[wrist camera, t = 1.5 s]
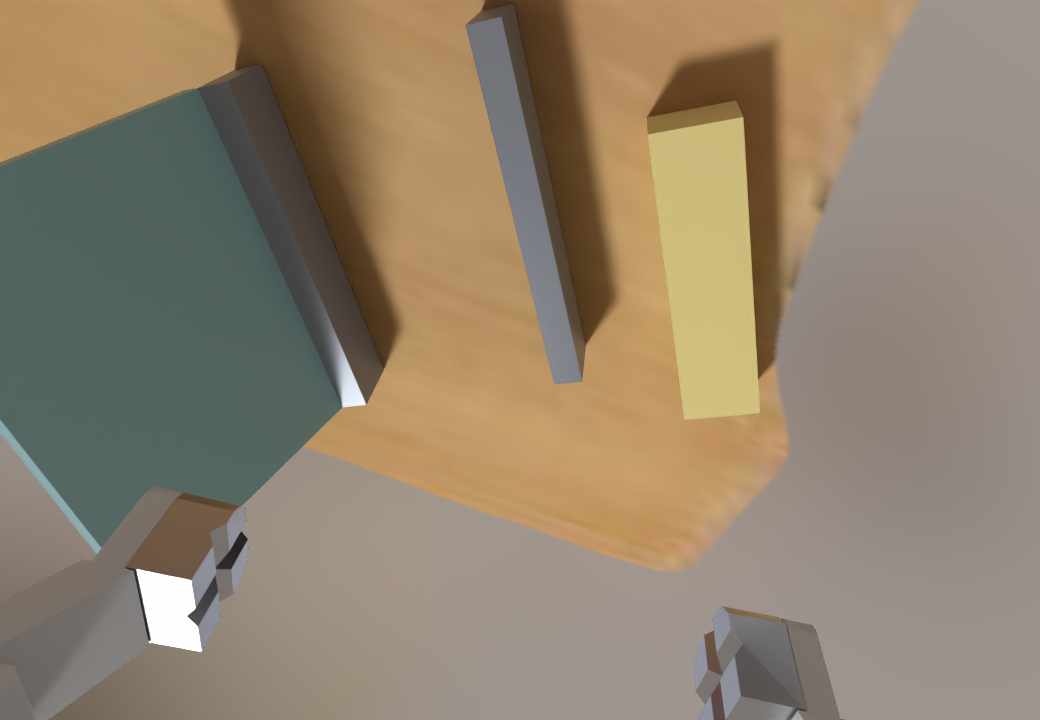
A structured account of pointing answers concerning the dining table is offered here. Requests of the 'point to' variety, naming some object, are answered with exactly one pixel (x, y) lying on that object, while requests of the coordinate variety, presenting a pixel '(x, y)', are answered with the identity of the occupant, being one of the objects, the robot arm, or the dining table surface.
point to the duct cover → (147, 321)
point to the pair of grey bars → (309, 247)
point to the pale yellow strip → (707, 256)
